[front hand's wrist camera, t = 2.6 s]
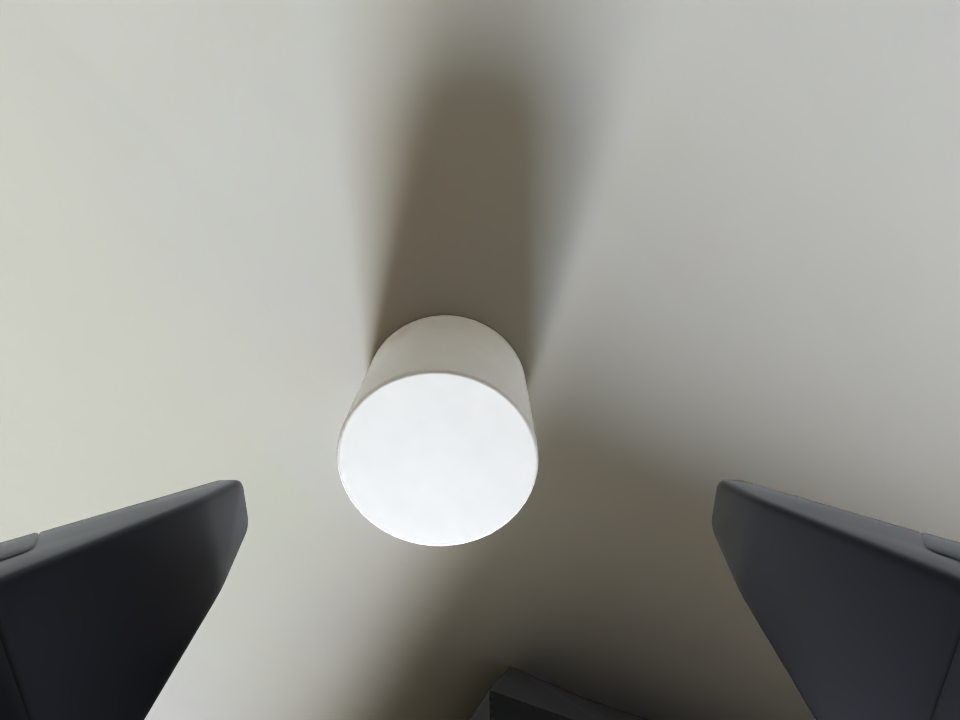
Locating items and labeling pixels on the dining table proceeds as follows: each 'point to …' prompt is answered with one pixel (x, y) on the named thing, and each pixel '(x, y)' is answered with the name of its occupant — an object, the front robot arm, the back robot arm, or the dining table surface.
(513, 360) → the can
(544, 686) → the electronic device
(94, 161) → the dining table surface
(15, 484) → the dining table surface
